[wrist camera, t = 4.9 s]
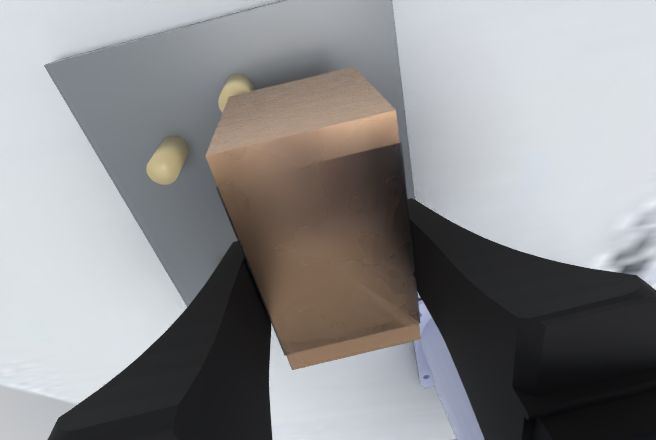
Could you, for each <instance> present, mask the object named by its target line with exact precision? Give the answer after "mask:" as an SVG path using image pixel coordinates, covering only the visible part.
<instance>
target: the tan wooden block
mask: <svg viewBox="0 0 656 440" xmlns="http://www.w3.org/2000/svg"><path fill="white" fill-rule="evenodd" d="M206 159H207V161H208V164H209V166H210V169H211V171H212V174H213V176H214V179H215V181H216V189H217V191H218V194H219V196H220V199H221V201H222V204H223V206H224V208H225V211H226V213H227V216H228V218H229V221H230V223H231V226H232V228H233V230H234V233H235V235H236V238H237V240H238V243H239V245H240V248H241V250H242V252H243V255H244V257H245V260H246V262H247V265H248V267H249V269H250V272H251V274H252V277H253V279H254V282H255V284H256V287H257V289H258V291H259V294H260V296H261V299H262V301H263V304H264V306H265V309H266V311H267V313H268V316H269V318H270V321H271V323H272V326H273V328H274V330H275V333H276V335H277V338H278V340H279V343H280V345H281V348H282V350H283V352H284V355H286V356H287V358H288V361H289V363H290V366H291V368H292V370H294V369H298V368H303V367H307V366H311V365H315V364H320V363H324V362H328V361H332V360H336V359H341V358H345V357H349V356H353V355H357V354H362V353H366V352H370V351H374V350H378V349H383V348H387V347H391V346H395V345H399V344H404V343H408V342H412V341H416V340H420V339H421V336H420V327H419V323H421V322H420V312H419V303H418V293H417V284H416V274H415V265H414V255H413V246H412V236H411V227H410V217H409V208H408V198H407V189H406V179H405V170H404V160H403V151H402V142H401V141H400V140H399V133H398V124H397V114H396V110H395V109H394V108H393V107H392V105H391V104H390V103H389V102H388V101H387V100H386V99H385V98H384V97H383V96H382V95H381V94H380V93H379V92H378V91H377V90H376V89H375V88H374V87H373V86H372V85H371V84H370V83H369V82H368V81H367V80H366V79H365V78H364V77H363V76H362V75H361V74H360V73H359V72H358V70H357V69H356V68H355V67H350V68H346V69H341V70H337V71H333V72H329V73H325V74H321V75H317V76H312V77H308V78H304V79H300V80H296V81H292V82H288V83H283V84H279V85H275V86H271V87H267V88H263V89H259V90H255V91H250V92H246V93H242V94H238V95H234V96H230V97H229V98H228V100H227V103H226V105H225V108H224V110H223V113H222V115H221V118H220V120H219V123H218V125H217V128H216V130H215V133H214V136H213V138H212V141H211V143H210V146H209V148H208V151H207V153H206Z"/></svg>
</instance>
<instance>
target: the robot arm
mask: <svg viewBox="0 0 656 440" xmlns="http://www.w3.org/2000/svg"><path fill="white" fill-rule="evenodd" d="M408 208H409V217H410V227H411V236H412V246H413V255H414V265H415V274H416V284H417V291H418V293H419V295H420V297H421V299H422V300H420V301H418V303H419V312H420V322H421V323H419V327H420V336H421V339H420V340H416V341H414V346H415V353H416V359H417V366H418V373H419V379H420V384H421V386H422V387H423V388H429V387H433V386H435V388H436V390H437V393H438V395H439V397H440V400H441V402H442V405H443V407H444V410H445V412H446V415H447V417H448V419H449V422H450V424H451V427H452V429H453V432H454V434H455V437H456V439H454V440H656V290H655V289H654V288H652V287H651V286H650V285H649V284H647V283H646V282H645V281H643V280H642V279H641V278H639V277H638V276H637V275H630V274H623V273H617V272H610V271H603V270H596V269H590V268H584V267H580V266H575V265H570V264H565V263H560V262H556V261H552V260H548V259H544V258H541V257H537V256H534V255H530V254H527V253H524V252H520V251H517V250H514V249H511V248H509V247H506V246H503V245H501V244H498V243H495V242H493V241H490V240H488V239H485V238H483V237H481V236H479V235H477V234H475V233H472V232H470V231H468V230H466V229H464V228H462V227H460V226H458V225H456V224H455V223H453V222H451V221H449V220H447V219H446V218H444V217H442V216H440V215H439V214H437V213H435V212H434V211H432V210H430V209H429V208H427V207H426V206H424V205H422V204H421V203H419V202H418V201H416V200H414V199H413V198H410V199H408ZM270 341H271V321H270V318H269V316H268V313H267V311H266V309H265V306H264V304H263V301H262V299H261V296H260V294H259V291H258V289H257V287H256V284H255V282H254V279H253V277H252V274H251V272H250V269H249V267H248V265H247V262H246V260H245V257H244V255H243V252H242V250H241V248H240V245H239V243H238V241H235V242H233V243H232V244H231V246H230V247H229V249H228V250H227V252H226V253H225V255H224V257H223V258H222V260H221V261H220V263H219V264H218V266H217V267H216V269H215V270H214V272H213V273H212V275H211V276H210V278H209V279H208V281H207V282H206V284H205V285H204V286H203V288H202V289H201V290H200V292H199V293H198V294H197V295H196V297H195V298H194V299H193V301H192V302H191V303H190V305H189V306H188V307H187V308H186V310H185V311H184V312H183V313H182V314H181V315H180V317H179V318H178V319H177V320H176V321H175V322H174V323H173V324H172V325H171V326H170V328H169V329H168V330H167V331H166V332H165V333H164V334H163V335H162V336H161V337H160V338H159V339H158V340H157V341H155V342H154V343H153V344H152V345H151V346H150V347H149V348H148V349H147V350H146V351H145V352H144V353H143V354H142V355H141V356H140V357H138V358H137V359H136V360H135V361H134V362H133V363H131V364H130V365H129V366H128V367H127V368H126V369H124V370H123V371H122V372H121V373H119V374H118V375H117V376H116V377H114V378H113V379H112V380H111V381H109V382H108V383H107V384H106V385H104V386H103V387H102V388H100V389H99V390H98V391H96V392H95V393H93V394H92V395H91V396H89V397H88V398H86V399H85V400H84V401H82V402H81V403H79V404H78V405H76V406H75V407H74V408H72V409H71V410H69V411H68V412H67V413H65V414H64V415H62V416H61V417H59V418H58V420H57V422H56V424H55V426H54V428H53V430H52V432H51V434H50V436H49V438H48V440H272V428H271V414H270V397H269V361H270Z"/></svg>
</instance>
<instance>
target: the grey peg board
mask: <svg viewBox="0 0 656 440" xmlns="http://www.w3.org/2000/svg"><path fill="white" fill-rule="evenodd" d="M44 66H45V68H46V70H47V71H48V73H49V75H50V76H51V78H52V80H53V81H54V83H55V85H56V86H57V88H58V90H59V92H60V93H61V95H62V97H63V98H64V100H65V102H66V103H67V105H68V107H69V108H70V110H71V112H72V113H73V115H74V117H75V118H76V120H77V122H78V124H79V125H80V127H81V129H82V130H83V132H84V134H85V135H86V137H87V139H88V140H89V142H90V144H91V145H92V147H93V149H94V150H95V152H96V154H97V156H98V157H99V159H100V161H101V162H102V164H103V166H104V167H105V169H106V171H107V172H108V174H109V176H110V177H111V179H112V181H113V182H114V184H115V186H116V187H117V189H118V191H119V193H120V194H121V196H122V198H123V199H124V201H125V203H126V204H127V206H128V208H129V209H130V211H131V213H132V214H133V216H134V218H135V219H136V221H137V223H138V225H139V226H140V228H141V230H142V231H143V233H144V235H145V236H146V238H147V240H148V241H149V243H150V245H151V246H152V248H153V250H154V251H155V253H156V255H157V256H158V258H159V260H160V262H161V263H162V265H163V267H164V268H165V270H166V272H167V273H168V275H169V277H170V278H171V280H172V282H173V283H174V285H175V287H176V288H177V290H178V292H179V294H180V295H181V297H182V299H183V300H184V302H185V304H186V305H187V307H188V306H189V305H190V303H191V302H192V301H193V299H194V298H195V297H196V295H197V294H198V293H199V292H200V290H201V289H202V288H203V286H204V285H205V284H206V282H207V281H208V279H209V278H210V276H211V275H212V273H213V272H214V270H215V269H216V267H217V266H218V264H219V263H220V261H221V260H222V258H223V257H224V255H225V253H226V252H227V250H228V249H229V247H230V246H231V244H232V243H233V242H235V241H238V240H237V238H236V235H235V233H234V230H233V228H232V226H231V223H230V221H229V218H228V216H227V213H226V211H225V208H224V206H223V204H222V201H221V199H220V196H219V194H218V191H217V189H216V181H215V179H214V176H213V174H212V171H211V169H210V166H209V164H208V161H207V159H206V153H207V151H208V148H209V146H210V143H211V141H212V138H213V136H214V133H215V130H216V128H217V125H218V123H219V120H220V118H221V115H222V113H223V110H224V108H225V105H226V103H227V100H228V98H229V97H230V96H234V95H238V94H242V93H246V92H250V91H255V90H259V89H263V88H267V87H271V86H275V85H279V84H283V83H288V82H292V81H296V80H300V79H304V78H308V77H312V76H317V75H321V74H325V73H329V72H333V71H337V70H341V69H346V68H350V67H355V68H356V69H357V70H358V72H359V73H360V74H361V75H362V76H363V77H364V78H365V79H366V80H367V81H368V82H369V83H370V84H371V85H372V86H373V87H374V88H375V89H376V90H377V91H378V92H379V93H380V94H381V95H382V96H383V97H384V98H385V99H386V100H387V101H388V102H389V103H390V104H391V105H392V107H393V108H394V109H395V110H396V114H397V124H398V133H399V140H400V141H401V142H402V151H403V160H404V170H405V179H406V189H407V198H408V199H410V198H413V199H414V200H415V198H414V189H413V180H412V171H411V162H410V154H409V145H408V136H407V127H406V119H405V110H404V101H403V92H402V83H401V75H400V66H399V57H398V48H397V39H396V31H395V22H394V13H393V4H392V0H283V1H279V2H275V3H271V4H268V5H264V6H260V7H256V8H253V9H249V10H245V11H241V12H238V13H234V14H230V15H226V16H222V17H219V18H215V19H211V20H207V21H204V22H200V23H196V24H192V25H189V26H185V27H181V28H177V29H173V30H170V31H166V32H162V33H158V34H155V35H151V36H147V37H143V38H140V39H136V40H132V41H128V42H125V43H121V44H117V45H113V46H109V47H106V48H102V49H98V50H94V51H91V52H87V53H83V54H79V55H76V56H72V57H68V58H64V59H60V60H57V61H54V62H52V63H49V64H46V65H44Z"/></svg>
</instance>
